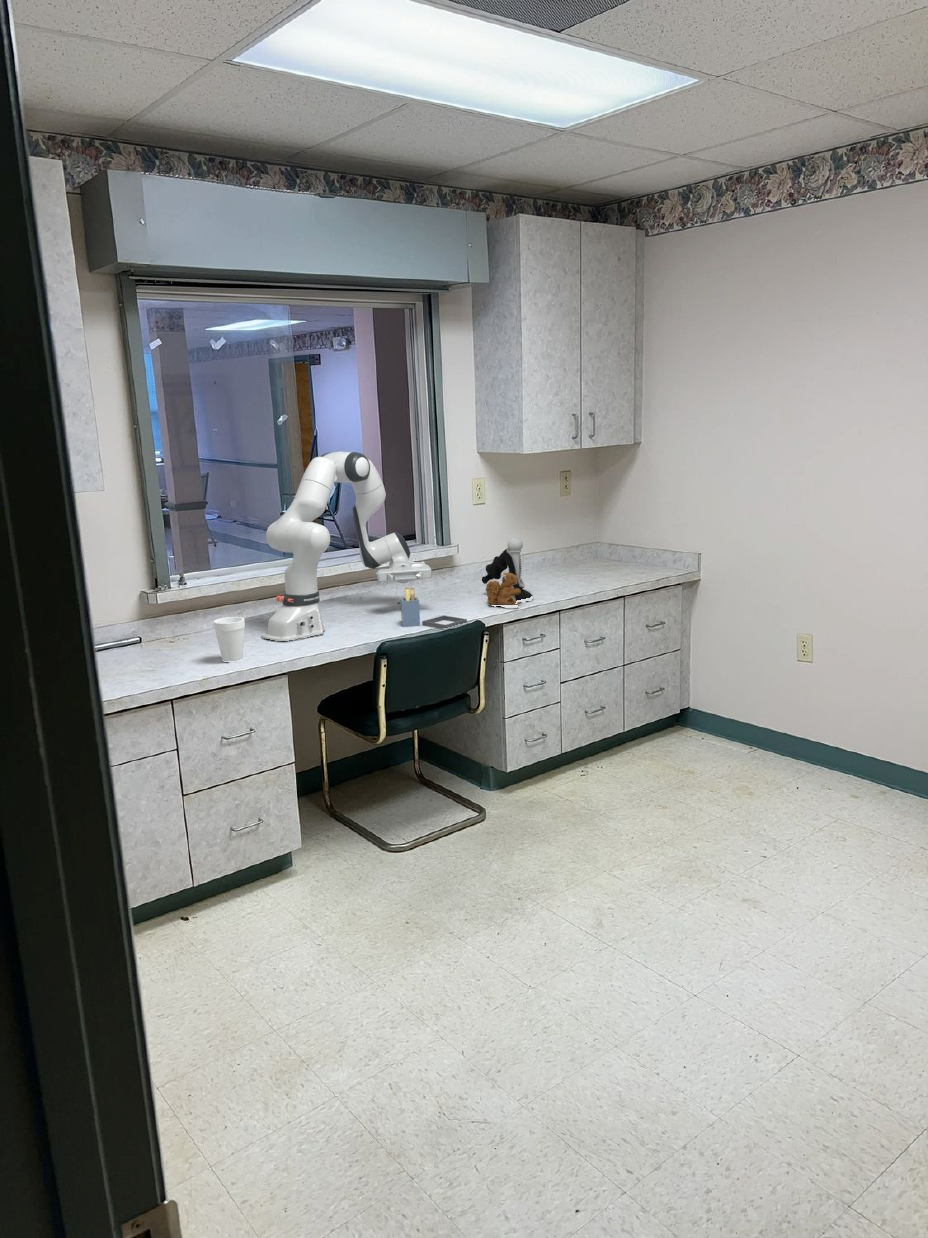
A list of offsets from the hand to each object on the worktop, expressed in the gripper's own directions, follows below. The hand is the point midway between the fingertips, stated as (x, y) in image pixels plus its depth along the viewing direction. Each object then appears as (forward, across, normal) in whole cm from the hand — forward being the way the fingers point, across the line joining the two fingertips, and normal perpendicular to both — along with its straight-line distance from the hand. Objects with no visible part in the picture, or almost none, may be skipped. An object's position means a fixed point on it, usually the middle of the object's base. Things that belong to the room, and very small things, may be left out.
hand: (406, 577), depth 337 cm
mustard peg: (+14, -1, +15) cm, 20 cm away
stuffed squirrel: (-11, +38, +16) cm, 43 cm away
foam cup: (+43, -60, +14) cm, 75 cm away
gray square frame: (+16, +11, +15) cm, 25 cm away
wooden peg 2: (+13, +1, +15) cm, 19 cm away
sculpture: (-26, +42, +16) cm, 52 cm away
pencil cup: (+13, 0, +15) cm, 20 cm away
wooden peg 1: (+12, -1, +15) cm, 19 cm away
